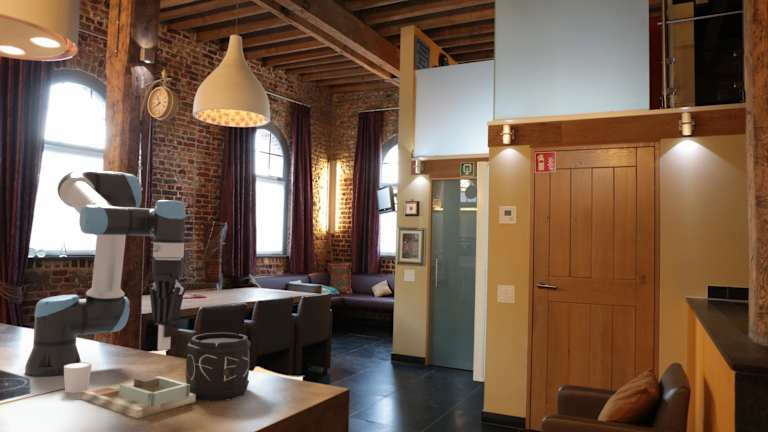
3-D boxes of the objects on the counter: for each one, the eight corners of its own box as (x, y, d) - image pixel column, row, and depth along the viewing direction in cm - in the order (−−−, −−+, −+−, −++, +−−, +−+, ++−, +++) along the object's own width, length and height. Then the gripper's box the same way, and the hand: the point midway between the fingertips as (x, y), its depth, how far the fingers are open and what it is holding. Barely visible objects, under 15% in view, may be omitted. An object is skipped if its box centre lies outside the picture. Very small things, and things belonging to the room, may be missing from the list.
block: (133, 393, 144) (134, 378, 145) (148, 390, 148) (149, 375, 148) (143, 397, 142) (144, 381, 142) (158, 393, 146) (159, 378, 146)
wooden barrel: (188, 406, 142) (191, 345, 143) (179, 387, 158) (182, 333, 159) (256, 398, 151) (259, 341, 151) (242, 382, 167) (244, 330, 167)
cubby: (119, 396, 142) (119, 384, 142) (158, 386, 152) (158, 376, 152) (150, 406, 135) (151, 394, 135) (189, 395, 144) (190, 384, 144)
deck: (81, 398, 145) (81, 391, 145) (139, 385, 159) (140, 378, 159) (137, 418, 132) (137, 410, 132) (195, 401, 146) (195, 394, 146)
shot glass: (96, 388, 155) (97, 363, 155) (75, 394, 148) (76, 368, 149) (77, 385, 157) (79, 361, 157) (56, 391, 151) (57, 366, 151)
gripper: (140, 258, 143) (135, 348, 142) (171, 260, 136) (166, 355, 135) (165, 257, 150) (161, 344, 149) (196, 259, 143) (192, 350, 142)
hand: (163, 349), depth 142 cm, fingers closed
